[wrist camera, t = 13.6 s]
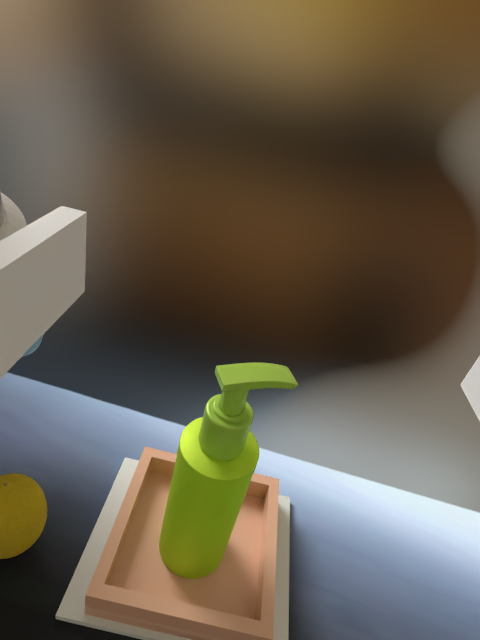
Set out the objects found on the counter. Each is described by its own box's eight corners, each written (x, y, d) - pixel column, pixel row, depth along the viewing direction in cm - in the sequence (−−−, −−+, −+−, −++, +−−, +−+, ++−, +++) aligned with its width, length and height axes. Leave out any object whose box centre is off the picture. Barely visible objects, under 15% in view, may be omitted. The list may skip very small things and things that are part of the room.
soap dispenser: (243, 568, 36) (314, 400, 26) (164, 586, 34) (208, 408, 23) (225, 507, 41) (279, 344, 30) (154, 518, 38) (186, 345, 28)
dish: (84, 614, 32) (85, 595, 30) (142, 465, 44) (144, 446, 42) (262, 656, 32) (272, 639, 30) (271, 497, 44) (279, 479, 42)
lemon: (57, 554, 35) (56, 497, 31) (-18, 592, 32) (-30, 534, 28) (37, 502, 39) (33, 444, 34) (-33, 532, 35) (-47, 472, 31)
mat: (55, 619, 31) (55, 615, 31) (124, 461, 44) (125, 457, 44) (285, 673, 32) (288, 670, 31) (288, 500, 45) (289, 497, 44)
